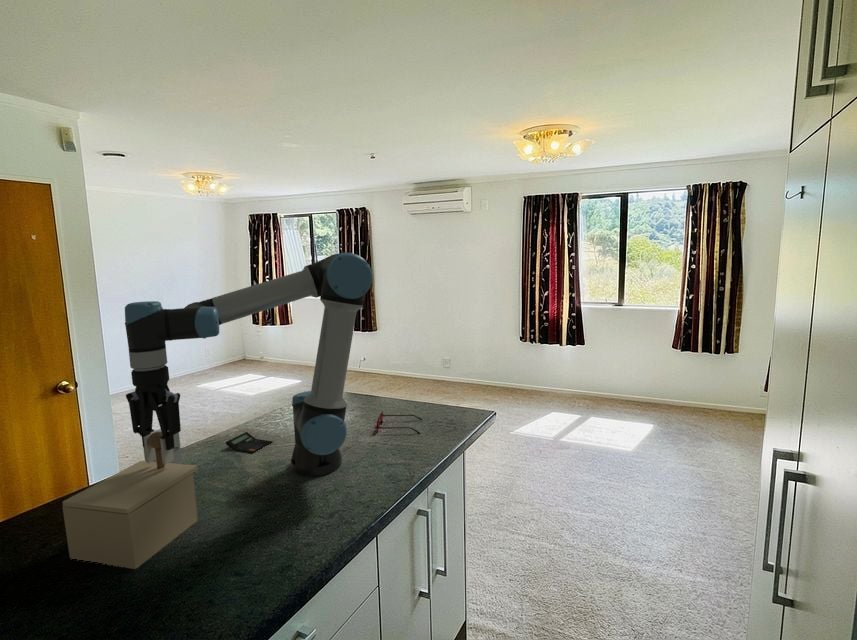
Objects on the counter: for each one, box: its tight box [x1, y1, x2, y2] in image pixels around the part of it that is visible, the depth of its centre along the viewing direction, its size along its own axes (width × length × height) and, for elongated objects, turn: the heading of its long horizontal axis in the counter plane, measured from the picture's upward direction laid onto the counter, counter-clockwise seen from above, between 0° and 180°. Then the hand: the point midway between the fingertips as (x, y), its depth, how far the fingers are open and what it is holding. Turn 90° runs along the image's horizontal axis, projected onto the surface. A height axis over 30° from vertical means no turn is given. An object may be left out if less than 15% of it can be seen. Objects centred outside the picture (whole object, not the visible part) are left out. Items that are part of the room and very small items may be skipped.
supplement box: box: [143, 428, 183, 464], centre depth 138 cm, size 7×7×13 cm
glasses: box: [374, 410, 423, 435], centre depth 170 cm, size 14×16×5 cm
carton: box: [62, 473, 198, 570], centre depth 105 cm, size 17×18×12 cm
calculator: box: [225, 431, 274, 454], centre depth 157 cm, size 9×12×3 cm
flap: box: [62, 432, 199, 514], centre depth 104 cm, size 17×20×10 cm
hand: (160, 461), depth 112 cm, fingers closed on flap, 4 cm apart
